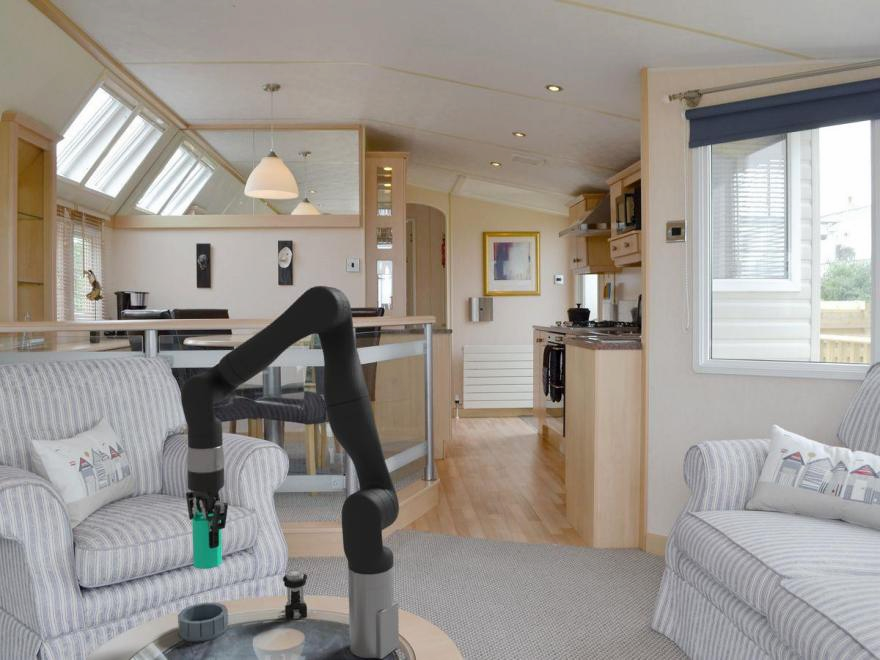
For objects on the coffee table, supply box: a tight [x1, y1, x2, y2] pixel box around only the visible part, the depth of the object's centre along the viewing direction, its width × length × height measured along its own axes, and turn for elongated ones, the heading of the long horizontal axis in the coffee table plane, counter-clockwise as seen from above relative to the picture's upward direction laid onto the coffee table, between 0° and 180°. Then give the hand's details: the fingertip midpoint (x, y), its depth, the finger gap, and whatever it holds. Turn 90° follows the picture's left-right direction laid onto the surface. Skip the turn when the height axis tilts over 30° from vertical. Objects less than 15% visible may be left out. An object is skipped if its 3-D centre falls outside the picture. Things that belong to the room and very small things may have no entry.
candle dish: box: [177, 602, 229, 643], centre depth 163 cm, size 10×10×4 cm
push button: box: [277, 569, 308, 620], centre depth 169 cm, size 7×5×10 cm
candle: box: [192, 513, 223, 570], centre depth 162 cm, size 6×6×12 cm
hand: (207, 543), depth 162 cm, fingers closed on candle, 4 cm apart
